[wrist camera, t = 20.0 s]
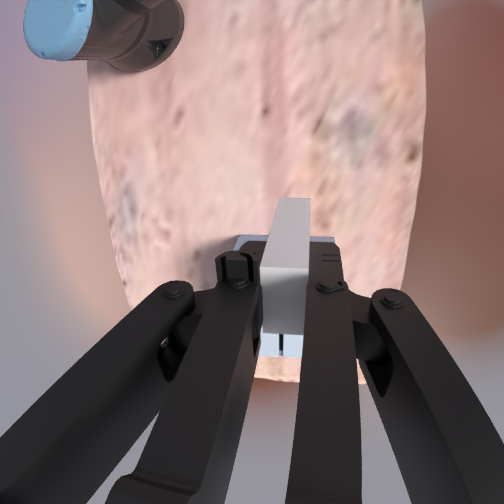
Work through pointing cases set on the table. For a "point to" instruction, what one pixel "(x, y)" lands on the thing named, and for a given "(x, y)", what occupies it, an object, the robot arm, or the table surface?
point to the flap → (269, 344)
